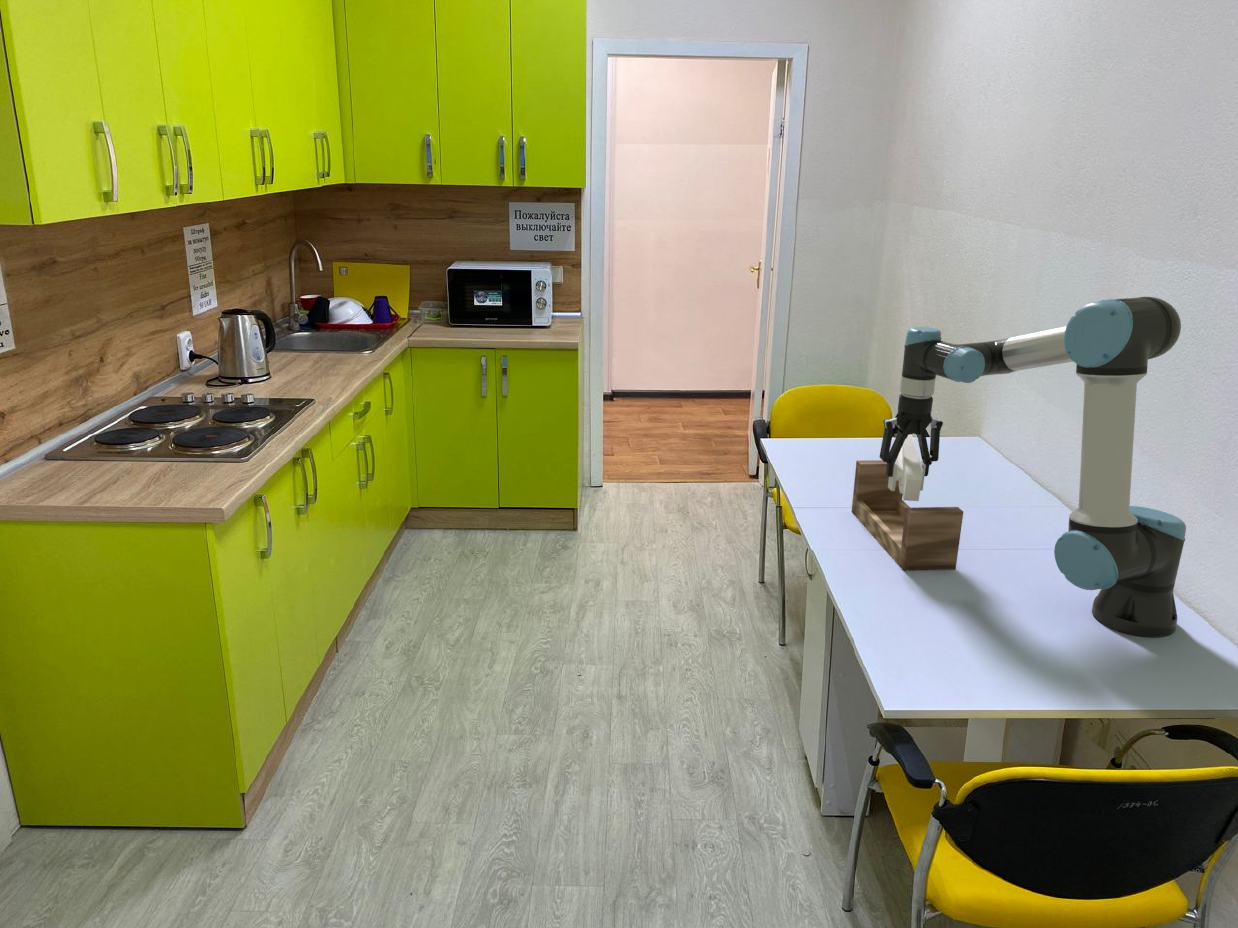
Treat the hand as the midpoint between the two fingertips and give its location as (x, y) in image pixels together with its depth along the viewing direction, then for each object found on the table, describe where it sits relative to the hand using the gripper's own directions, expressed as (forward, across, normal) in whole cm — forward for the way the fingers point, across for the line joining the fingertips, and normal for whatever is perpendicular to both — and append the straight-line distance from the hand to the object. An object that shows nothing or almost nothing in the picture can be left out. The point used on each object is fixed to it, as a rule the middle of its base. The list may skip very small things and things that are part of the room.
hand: (905, 488), depth 228 cm
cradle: (+13, 0, 0) cm, 13 cm away
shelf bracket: (+1, -1, -1) cm, 2 cm away
